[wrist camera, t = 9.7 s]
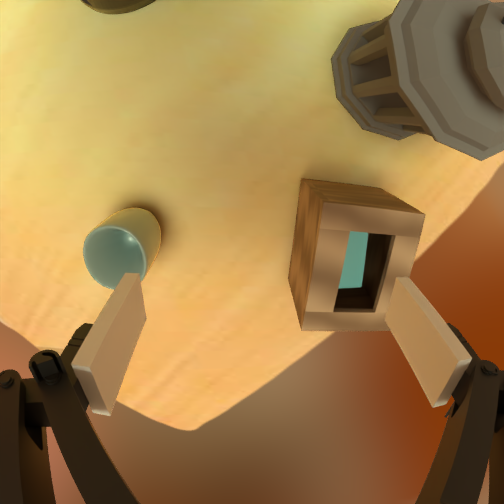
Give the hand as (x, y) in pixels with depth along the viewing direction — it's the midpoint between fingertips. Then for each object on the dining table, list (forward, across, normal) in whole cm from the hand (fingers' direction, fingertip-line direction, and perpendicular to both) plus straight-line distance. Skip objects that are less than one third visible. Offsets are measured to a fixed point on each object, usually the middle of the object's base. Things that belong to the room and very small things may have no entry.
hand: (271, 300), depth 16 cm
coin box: (+26, +11, -6) cm, 29 cm away
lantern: (+26, +17, +15) cm, 35 cm away
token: (+25, +11, -7) cm, 28 cm away
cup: (+26, -15, -6) cm, 31 cm away
